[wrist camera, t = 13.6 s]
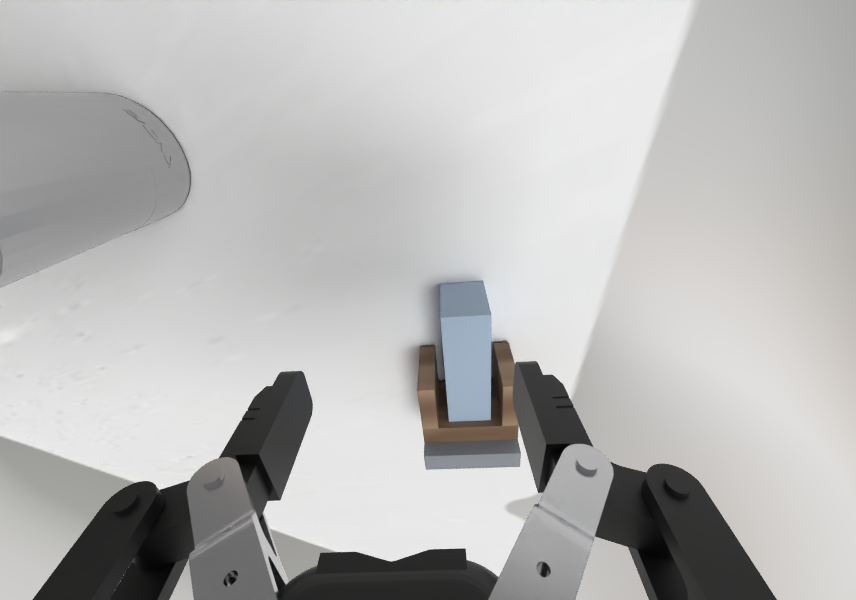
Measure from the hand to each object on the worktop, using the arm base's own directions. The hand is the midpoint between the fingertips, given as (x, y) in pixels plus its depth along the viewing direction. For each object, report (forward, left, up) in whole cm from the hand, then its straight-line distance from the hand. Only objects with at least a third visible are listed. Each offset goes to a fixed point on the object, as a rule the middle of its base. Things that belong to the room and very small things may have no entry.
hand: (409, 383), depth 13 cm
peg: (-1, -12, -19) cm, 23 cm away
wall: (-4, -21, -19) cm, 28 cm away
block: (-3, -16, -19) cm, 25 cm away
